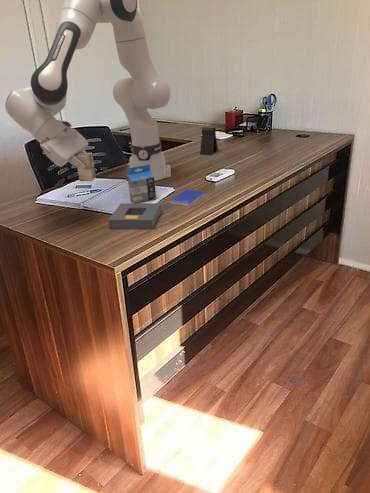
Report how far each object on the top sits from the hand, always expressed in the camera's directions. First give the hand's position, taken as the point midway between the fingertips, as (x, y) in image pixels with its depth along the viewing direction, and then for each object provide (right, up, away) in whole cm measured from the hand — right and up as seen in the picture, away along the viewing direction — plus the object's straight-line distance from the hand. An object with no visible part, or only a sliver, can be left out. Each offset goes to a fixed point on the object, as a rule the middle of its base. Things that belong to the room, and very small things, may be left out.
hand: (87, 165), depth 135 cm
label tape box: (+16, -9, +21) cm, 28 cm away
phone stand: (+43, +20, +76) cm, 89 cm away
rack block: (+15, -17, +5) cm, 23 cm away
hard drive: (+32, -9, +21) cm, 39 cm away
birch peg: (0, -4, +2) cm, 5 cm away
